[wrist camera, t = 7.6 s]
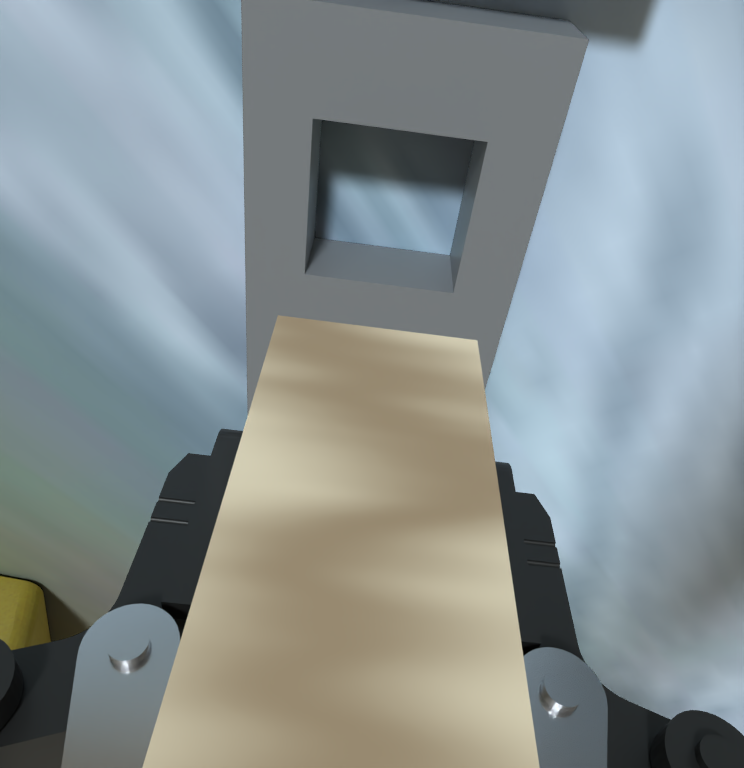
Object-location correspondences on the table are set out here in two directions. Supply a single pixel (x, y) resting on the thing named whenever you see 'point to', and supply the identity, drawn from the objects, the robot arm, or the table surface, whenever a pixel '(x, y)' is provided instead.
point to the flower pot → (22, 614)
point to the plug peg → (355, 571)
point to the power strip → (407, 113)
